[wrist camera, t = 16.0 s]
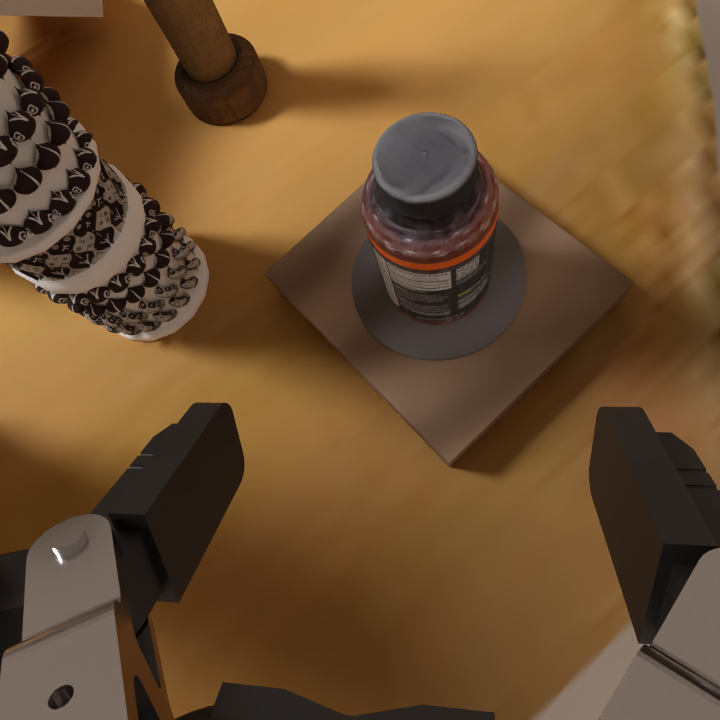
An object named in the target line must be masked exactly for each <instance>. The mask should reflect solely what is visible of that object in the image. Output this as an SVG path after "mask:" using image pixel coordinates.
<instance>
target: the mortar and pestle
mask: <svg viewBox="0 0 720 720" xmlns="http://www.w3.org/2000/svg"><path fill="white" fill-rule="evenodd" d="M144 1H145V3H146V5H147V6H148V8H149V10H150V11H151V13H152V15H153V16H154V18H155V20H156V21H157V23H158V25H159V26H160V28H161V30H162V31H163V33H164V35H165V36H166V38H167V40H168V41H169V43H170V45H171V47H172V48H173V50H174V52H175V53H176V55H177V57H178V59H179V62H178V64H177V66H176V70H175V84H176V87H177V89H178V91H179V93H180V95H181V96H182V98H183V99H184V101H185V102H186V104H187V106H188V107H189V109H190V110H191V112H192V113H193V114H194V115H195V116H196V117H197V118H198V119H200V120H202V121H204V122H206V123H209V124H215V125H224V124H230V123H233V122H236V121H239V120H241V119H243V118H245V117H246V116H248V115H249V114H250V113H252V112H253V111H254V110H255V109H256V108H257V107H258V106H259V104H260V103H261V102H262V100H263V98H264V96H265V93H266V88H267V80H266V75H265V72H264V69H263V67H262V65H261V63H260V61H259V58H258V56H257V53H256V51H255V49H254V47H253V46H252V44H251V43H250V42H249V41H248V40H246V39H245V38H243V37H241V36H239V35H236V34H231V33H228V32H227V30H226V28H225V26H224V24H223V21H222V19H221V17H220V15H219V13H218V11H217V9H216V6H215V4H214V2H213V0H144Z"/></svg>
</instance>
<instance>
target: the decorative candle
mask: <svg viewBox="0 0 720 720" xmlns="http://www.w3.org/2000/svg"><path fill="white" fill-rule="evenodd" d="M8 45H9V39H8V37H7V36H6V34H5V33H4V32H3V31H1V30H0V263H4V264H6V265H8V266H10V267H12V269H13V270H14V272H15V273H16V274H18V275H19V276H21V277H23V278H25V279H27V280H29V281H30V282H32V283H34V286H35V288H36V290H37V291H39V292H40V293H42V294H47V293H48V296H49V298H50V299H51V300H52V301H53V302H55V303H62V304H65V303H67V305H68V307H69V309H70V310H71V311H73V312H75V313H79V314H80V315H82V316H86V318H87V319H88V320H89V321H91V322H92V323H94V324H97V325H102V326H103V327H104V328H105V329H106V330H108V331H110V332H113V333H118V334H120V335H122V336H124V337H125V338H127V339H129V340H135V341H154V340H157V339H159V338H162V337H165V336H168V335H170V334H173V333H175V332H176V331H177V330H179V329H180V328H181V327H182V326H183V325H185V324H186V323H187V322H188V321H189V320H191V319H192V318H193V317H194V315H195V314H196V312H197V310H198V309H199V307H200V305H201V304H202V302H203V300H204V298H205V297H206V292H207V286H208V281H209V275H210V274H209V270H208V265H207V261H206V257H205V254H204V253H203V252H202V250H201V249H200V248H199V247H198V246H197V244H196V242H194V241H193V240H192V239H191V238H190V237H188V236H185V235H186V230H185V229H184V228H182V227H180V228H178V229H177V230H173V228H172V225H173V224H174V221H175V220H174V217H173V216H172V215H168V214H166V213H164V212H160V205H159V203H158V201H156V200H155V199H153V198H149V197H146V190H145V188H144V187H143V186H142V185H141V184H140V183H133V184H131V182H130V180H129V179H128V178H127V177H125V176H124V175H123V174H122V173H121V172H120V171H119V170H118V169H117V168H116V167H115V166H114V165H111V164H109V163H107V162H105V161H104V160H103V159H102V157H101V156H100V155H99V154H98V150H97V144H96V142H95V141H94V140H93V139H92V134H90V133H89V132H88V131H86V130H85V129H84V127H83V126H82V125H81V124H80V123H79V122H78V120H75V119H73V118H70V117H69V114H70V110H69V107H68V105H67V104H66V103H64V102H62V101H60V96H59V94H58V92H57V91H56V90H55V89H54V88H52V87H43V86H44V80H43V78H42V77H41V75H40V74H39V73H38V72H36V71H34V70H33V68H32V65H31V63H30V62H29V61H28V60H27V59H26V58H24V57H12V58H11V57H10V56H9V55H8V54H6V53H5V52H6V51H7V48H8ZM14 73H16V74H17V75H19V76H20V77H21V79H22V82H23V83H22V82H21V81H20V80H19V79H18V78H17V77H16V76H15V75H14ZM45 102H46V104H47V106H48V107H47V106H46V105H45ZM170 228H171V229H172V230H171V229H170Z"/></svg>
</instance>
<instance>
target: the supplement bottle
mask: <svg viewBox="0 0 720 720" xmlns="http://www.w3.org/2000/svg"><path fill="white" fill-rule="evenodd" d="M498 210H499V188H498V182H497V179H496V176H495V173H494V171H493V169H492V167H491V166H490V164H489V163H488V161H487V160H486V159H485V158H484V156H483V155H482V154H481V153H480V152H479V151H478V150H477V145H476V141H475V138H474V136H473V134H472V133H471V132H470V130H469V129H468V128H467V127H466V126H465V125H464V124H463V123H462V122H460V121H459V120H457V119H456V118H454V117H451V116H448V115H445V114H441V113H434V112H428V113H419V114H413V115H410V116H408V117H405V118H403V119H401V120H399V121H397V122H396V123H395V124H393V125H392V126H391V127H389V128H388V129H387V130H386V131H385V132H384V133H383V134H382V136H381V137H380V139H379V140H378V142H377V144H376V147H375V149H374V152H373V158H372V170H371V172H370V174H369V175H368V178H367V179H366V181H365V184H364V187H363V191H362V196H361V212H362V216H363V221H364V224H365V228H366V230H367V235H368V237H369V241H370V243H371V245H372V249H373V252H374V255H375V259H376V261H377V264H378V266H379V269H380V271H381V276H380V278H381V277H382V278H383V281H384V282H385V287H386V290H387V292H388V294H389V296H390V298H391V299H392V301H393V303H394V304H395V306H396V307H397V308H398V309H399V310H400V311H401V312H402V313H403V314H404V315H406V316H407V317H409V318H411V319H413V320H415V321H418V322H421V323H425V324H432V325H442V324H449V323H452V322H454V321H457V320H459V319H461V318H464V317H465V316H467V315H468V314H470V313H471V312H472V311H473V310H474V309H475V308H476V307H477V306H478V305H479V304H480V303H481V301H482V300H483V298H484V297H485V295H486V292H487V290H488V287H489V283H490V279H491V271H492V263H493V254H494V245H495V237H496V229H497V220H498Z"/></svg>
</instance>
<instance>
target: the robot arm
mask: <svg viewBox="0 0 720 720" xmlns="http://www.w3.org/2000/svg"><path fill="white" fill-rule="evenodd" d="M243 473H244V455H243V451H242V447H241V443H240V439H239V435H238V431H237V427H236V423H235V419H234V415H233V411H232V409H231V407H230V405H229V404H228V403H194V404H193V405H192V406H191V407H190V408H189V409H188V411H187V412H186V413H185V414H184V416H183V417H182V418H181V420H180V421H179V422H178V423H177V424H171V425H170V426H168V427H167V428H166V429H164V430H163V431H161V432H160V433H158V434H157V435H156V436H154V437H153V438H152V439H151V440H150V442H149V443H148V444H147V445H146V447H145V448H144V449H143V450H142V452H141V455H140V456H137V458H136V459H135V460H134V461H133V463H132V464H131V465H130V469H127V470H126V471H125V472H124V474H123V475H122V476H121V477H120V478H119V480H118V481H117V482H116V483H115V485H114V486H113V487H112V488H111V489H110V491H109V492H108V493H107V494H106V496H105V497H104V498H103V499H102V500H101V502H100V503H99V504H98V505H97V507H96V508H95V509H94V510H93V511H92V513H91V514H86V515H79V516H75V517H72V518H69V519H67V520H64V521H62V522H60V523H58V524H56V525H55V526H53V527H51V528H50V529H48V530H47V531H46V532H45V533H43V534H42V535H41V536H40V537H39V538H38V539H37V540H36V541H35V542H34V544H33V545H32V547H31V548H30V549H26V550H21V551H16V552H11V553H7V554H2V555H0V720H495V715H494V713H492V712H483V711H474V710H465V709H456V708H447V707H438V706H429V705H418V706H412V707H406V708H400V709H394V710H388V711H382V712H376V713H370V714H364V715H358V716H347V715H344V714H341V713H338V712H336V711H334V710H331V709H329V708H327V707H325V706H322V705H320V704H318V703H315V702H313V701H311V700H308V699H306V698H304V697H301V696H299V695H297V694H294V693H292V692H290V691H288V690H285V689H277V688H269V687H260V686H251V685H242V684H233V683H224V682H223V683H222V686H221V689H220V691H219V694H218V697H217V699H216V702H215V705H213V706H208V707H205V708H202V709H198V710H195V711H192V712H190V713H187V714H185V715H183V716H180V717H178V718H176V719H174V718H173V714H172V711H171V708H170V704H169V700H168V695H167V690H166V685H165V680H164V675H163V670H162V665H161V660H160V655H159V650H158V645H157V640H156V635H155V630H154V625H153V621H152V618H151V616H150V614H149V613H150V612H151V610H152V608H153V606H154V605H155V603H156V601H165V602H176V603H179V601H180V600H181V598H182V596H183V594H184V592H185V590H186V588H187V586H188V584H189V582H190V580H191V578H192V576H193V574H194V572H195V570H196V569H197V567H198V565H199V563H200V561H201V559H202V557H203V555H204V553H205V551H206V549H207V547H208V545H209V543H210V541H211V539H212V538H213V536H214V534H215V532H216V530H217V528H218V526H219V524H220V522H221V520H222V518H223V516H224V514H225V512H226V510H227V508H228V507H229V505H230V503H231V501H232V499H233V497H234V495H235V493H236V491H237V489H238V487H239V485H240V483H241V481H242V478H243ZM589 482H590V490H591V495H592V499H593V502H594V505H595V508H596V511H597V515H598V518H599V521H600V524H601V527H602V530H603V533H604V536H605V540H606V543H607V546H608V549H609V552H610V555H611V558H612V562H613V565H614V568H615V571H616V574H617V577H618V580H619V584H620V587H621V590H622V593H623V596H624V599H625V602H626V605H627V609H628V612H629V615H630V618H631V621H632V624H633V627H634V630H635V633H636V637H637V640H638V643H641V644H642V643H643V644H651V645H650V646H647V645H643V646H642V647H641V649H640V650H639V651H638V653H637V654H636V656H635V658H634V659H633V661H632V662H631V664H630V666H629V668H628V669H627V671H626V673H625V674H624V676H623V678H622V680H621V681H620V683H619V685H618V687H617V688H616V690H615V692H614V693H613V695H612V697H611V698H610V700H609V702H608V704H607V705H606V707H605V709H604V710H603V712H602V714H601V715H600V717H599V719H598V720H720V491H719V490H717V489H716V484H715V483H714V481H713V480H712V478H711V476H710V475H709V473H706V468H705V467H704V465H703V464H702V462H701V460H700V459H699V457H698V456H697V454H696V452H695V451H694V449H692V448H691V447H690V446H688V445H687V444H686V443H685V442H683V441H682V440H681V439H679V438H678V437H677V436H675V435H674V434H673V433H664V432H655V430H654V428H653V426H652V424H651V422H650V421H649V419H648V417H647V415H646V413H645V412H644V410H643V409H642V408H641V407H600V408H599V410H598V413H597V418H596V424H595V431H594V438H593V445H592V452H591V459H590V467H589Z"/></svg>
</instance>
